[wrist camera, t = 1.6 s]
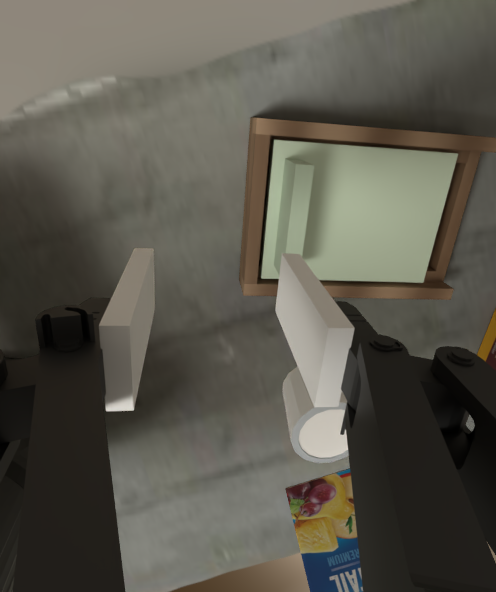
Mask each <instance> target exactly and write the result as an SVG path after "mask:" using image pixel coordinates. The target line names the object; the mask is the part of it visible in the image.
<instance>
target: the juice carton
mask: <svg viewBox="0 0 496 592" xmlns="http://www.w3.org/2000/svg"><path fill="white" fill-rule="evenodd" d="M286 493H287V497H288V501H289V505H290V509H291V514H292V518H293V522H294V526H295V530H296V534H297V538H298V543H299V547H300V551H301V555H302V559H303V563H304V568H305V572H306V575H307V580H308V584H309V588H310V592H363V586H362V576H361V567H360V558H359V548H358V539H357V529H356V520H355V510H354V501H353V491H352V482H351V472H350V469H347V470H343V471H340V472H337V473H334V474H330V475H327V476H324V477H321V478H318V479H314V480H311V481H308V482H305V483H301V484H298V485H295V486H292V487H288V488H286Z"/></svg>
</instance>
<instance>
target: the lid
mask: <svg viewBox="0 0 496 592" xmlns="http://www.w3.org/2000/svg"><path fill="white" fill-rule="evenodd" d="M457 157H458V154H457V153H449V152H436V151H423V150H410V149H396V148H383V147H370V146H357V145H344V144H330V143H317V142H304V141H291V140H278V139H272V143H271V153H270V164H269V175H268V186H267V197H266V207H265V218H264V229H263V240H262V251H261V262H260V272H259V274H260V277H261V278H262V279H279V274H280V265H281V257H282V253H289V254H300V255H301V257H302V258H303V260H304V261H305V262H306V264H307V265H308V266H309V268H310V269H311V270H312V272H313V273H314V274H315V276H316V277H317V278H318V280H338V281H376V282H413V283H423V282H424V278H425V275H426V271H427V267H428V264H429V260H430V256H431V253H432V249H433V245H434V242H435V238H436V234H437V231H438V227H439V223H440V219H441V216H442V212H443V208H444V205H445V201H446V197H447V194H448V190H449V186H450V183H451V179H452V175H453V172H454V168H455V164H456V161H457Z"/></svg>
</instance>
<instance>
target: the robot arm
mask: <svg viewBox="0 0 496 592" xmlns="http://www.w3.org/2000/svg"><path fill="white" fill-rule="evenodd" d="M154 312H155V284H154V249H150V248H134V250H133V252H132V254H131V257H130V259H129V261H128V263H127V265H126V268H125V270H124V272H123V274H122V276H121V278H120V281H119V283H118V285H117V287H116V289H115V291H114V294H113V296H112V298H90V299H88V300H86V301H85V302H83V303H81V304H80V305H79V306H76V305H65V306H59V307H54V308H51V309H48V310H45V311H43V312H42V313H40V314H39V315H38V316H37V318H36V319H35V321H36V327H37V334H38V340H39V346H40V351H39V354H38V355H35V356H32V357H28V358H23V359H10V358H5V356H4V354H3V352H2V350H0V592H125V585H124V577H123V569H122V560H121V552H120V543H119V535H118V527H117V518H116V510H115V501H114V493H113V485H112V476H111V468H110V460H109V451H108V443H107V434H106V426H105V418H104V409H103V401H104V398H105V405H106V411H134V407H135V402H136V398H137V393H138V388H139V383H140V379H141V374H142V369H143V364H144V359H145V355H146V350H147V345H148V340H149V336H150V331H151V326H152V321H153V316H154ZM275 312H276V314H277V317H278V319H279V321H280V324H281V326H282V329H283V331H284V334H285V336H286V339H287V341H288V344H289V346H290V349H291V351H292V353H293V356H294V358H295V361H296V363H297V366H298V368H299V371H300V373H301V376H302V378H303V381H304V383H305V385H306V388H307V390H308V393H309V395H310V398H311V400H312V403H313V405H314V407H338V406H339V402H340V397H341V392H343V394H344V396H345V398H346V399H347V404H346V409H345V414H344V418H343V423H342V427H341V432H340V435H344V432H345V430H346V435H347V444H348V454H349V463H350V472H351V482H352V491H353V501H354V510H355V520H356V529H357V539H358V548H359V558H360V567H361V576H362V586H363V592H496V563H495V561H494V558H493V556H492V554H491V551H490V549H489V546H488V544H489V545H490V547H491V549H492V550H493V552H494V553H495V555H496V371H495V370H494V369H493V368H492V367H491V366H490V365H489V364H488V363H486V362H485V361H484V360H483V359H482V358H480V357H479V356H477V355H476V354H474V353H472V352H470V351H468V350H467V349H464V348H462V349H461V348H460V347H449V346H446V347H440V348H438V349H436V352H435V355H434V359H433V360H431V359H426V358H420V357H414V356H410V355H409V353H408V351H407V349H406V347H405V346H404V345H403V344H402V343H401V342H399V341H398V340H396V339H393V338H391V337H388V336H383V335H378V334H377V332H376V331H375V330H374V329H373V328H372V326H371V325H370V324H369V323H368V322H366V321H367V320H366V319H365V318H364V317H363V316H362V314H361V313H360V312H359V311H358V310H357V308H355V307H354V306H352V305H350V304H349V303H347V302H342V301H334V300H333V298H332V297H331V296H330V294H329V293H328V292H327V290H326V289H325V288H324V286H323V285H322V284H321V282H320V281H319V280H318V278H317V277H316V276H315V274H314V273H313V272H312V270H311V269H310V268H309V266H308V265H307V264H306V262H305V261H304V260H303V258H302V257H301V255H300V254H289V253H282V257H281V265H280V274H279V283H278V291H277V300H276V309H275ZM469 414H470V415H471V417H472V418H473V420H474V423H475V427H474V430H473V431H472V432H471V431H470V430H469V429H468V428H467V426H466V422H467V419H468V417H469ZM487 542H488V544H487Z"/></svg>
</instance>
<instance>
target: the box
mask: <svg viewBox="0 0 496 592" xmlns="http://www.w3.org/2000/svg"><path fill="white" fill-rule="evenodd" d="M272 139H278V140H291V141H304V142H317V143H330V144H344V145H357V146H370V147H383V148H396V149H410V150H423V151H436V152H449V153H457V154H458V157H457V161H456V164H455V168H454V172H453V175H452V179H451V183H450V186H449V190H448V194H447V197H446V201H445V205H444V208H443V212H442V216H441V219H440V223H439V227H438V231H437V234H436V238H435V242H434V245H433V249H432V253H431V256H430V260H429V264H428V267H427V271H426V275H425V278H424V282H423V283H413V282H376V281H338V280H319V281H320V282H321V284H322V285H323V286H324V288H325V289H326V290H327V292H328V293H329V294H330V296H331V297H344V298H393V299H442V300H451V297H452V293H453V290H454V289H453V288H452V287H450V286H449V285H447V284H446V283H444V282H443V281H444V278H445V274H446V271H447V268H448V264H449V261H450V257H451V254H452V250H453V247H454V244H455V240H456V237H457V233H458V230H459V227H460V223H461V220H462V216H463V213H464V210H465V206H466V203H467V199H468V196H469V193H470V189H471V186H472V182H473V179H474V175H475V172H476V169H477V165H478V162H479V158H480V155H481V152H482V151H483V152H496V138H494V137H482V136H469V135H457V134H445V133H433V132H421V131H409V130H397V129H385V128H373V127H361V126H349V125H337V124H325V123H313V122H301V121H289V120H277V119H264V118H250V132H249V146H248V160H247V174H246V189H245V203H244V217H243V231H242V245H241V259H240V273H239V281H240V285H241V288H242V292H243V295H246V296H277V291H278V283H279V279H262V278H261V277H260V274H259V272H260V262H261V251H262V240H263V229H264V218H265V207H266V197H267V186H268V175H269V164H270V153H271V143H272Z"/></svg>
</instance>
